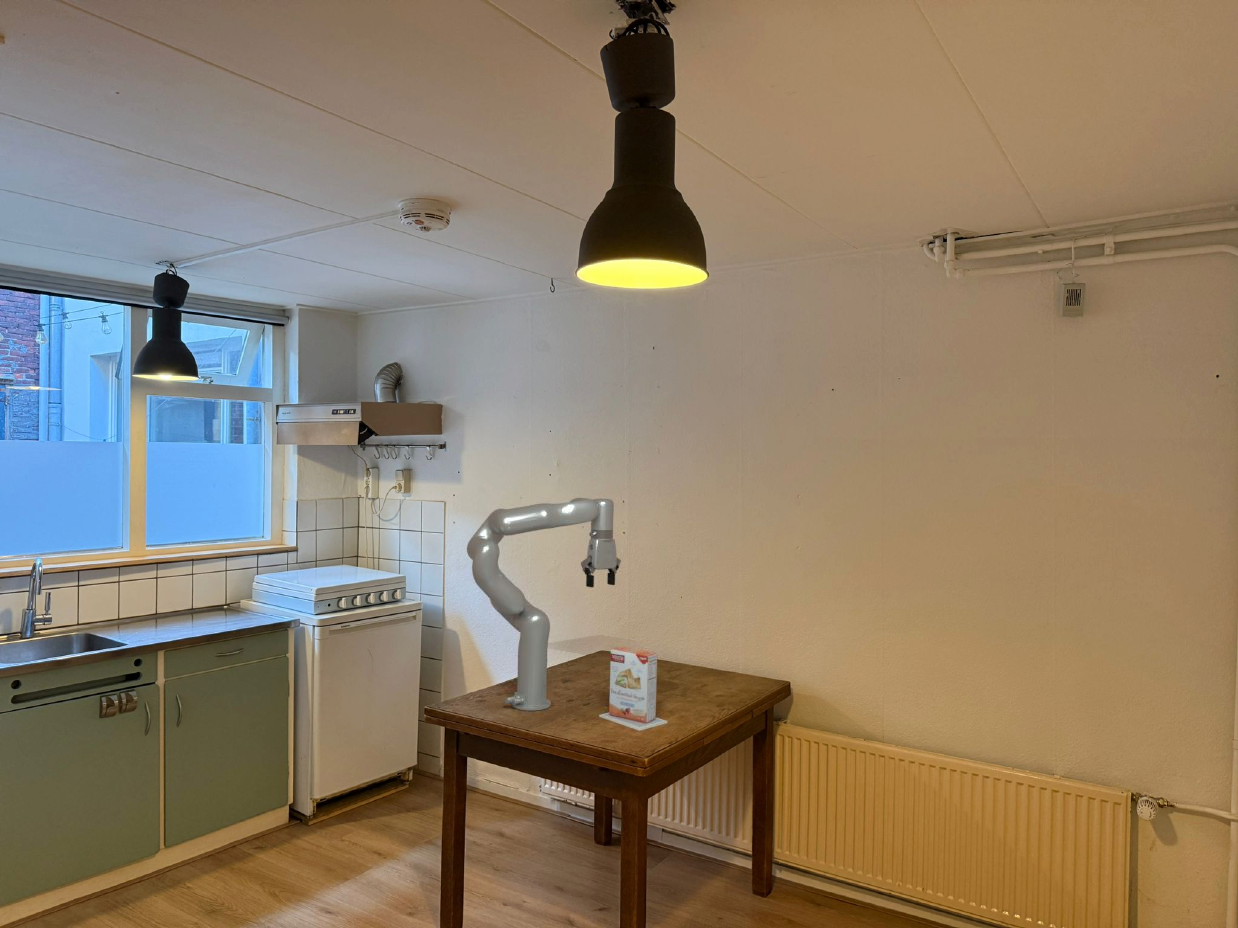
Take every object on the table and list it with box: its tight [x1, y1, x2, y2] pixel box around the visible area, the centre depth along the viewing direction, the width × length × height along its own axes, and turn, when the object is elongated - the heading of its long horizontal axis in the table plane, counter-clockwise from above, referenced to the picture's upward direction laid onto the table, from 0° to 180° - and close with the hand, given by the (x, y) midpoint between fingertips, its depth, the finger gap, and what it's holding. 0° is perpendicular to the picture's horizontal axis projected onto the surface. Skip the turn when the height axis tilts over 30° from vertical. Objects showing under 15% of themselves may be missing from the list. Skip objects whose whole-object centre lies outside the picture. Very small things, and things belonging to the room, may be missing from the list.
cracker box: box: [608, 646, 658, 723], centre depth 256 cm, size 14×6×21 cm, turn 56°
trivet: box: [599, 712, 668, 732], centre depth 256 cm, size 12×18×1 cm, turn 44°
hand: (600, 585), depth 279 cm, fingers open, 9 cm apart
